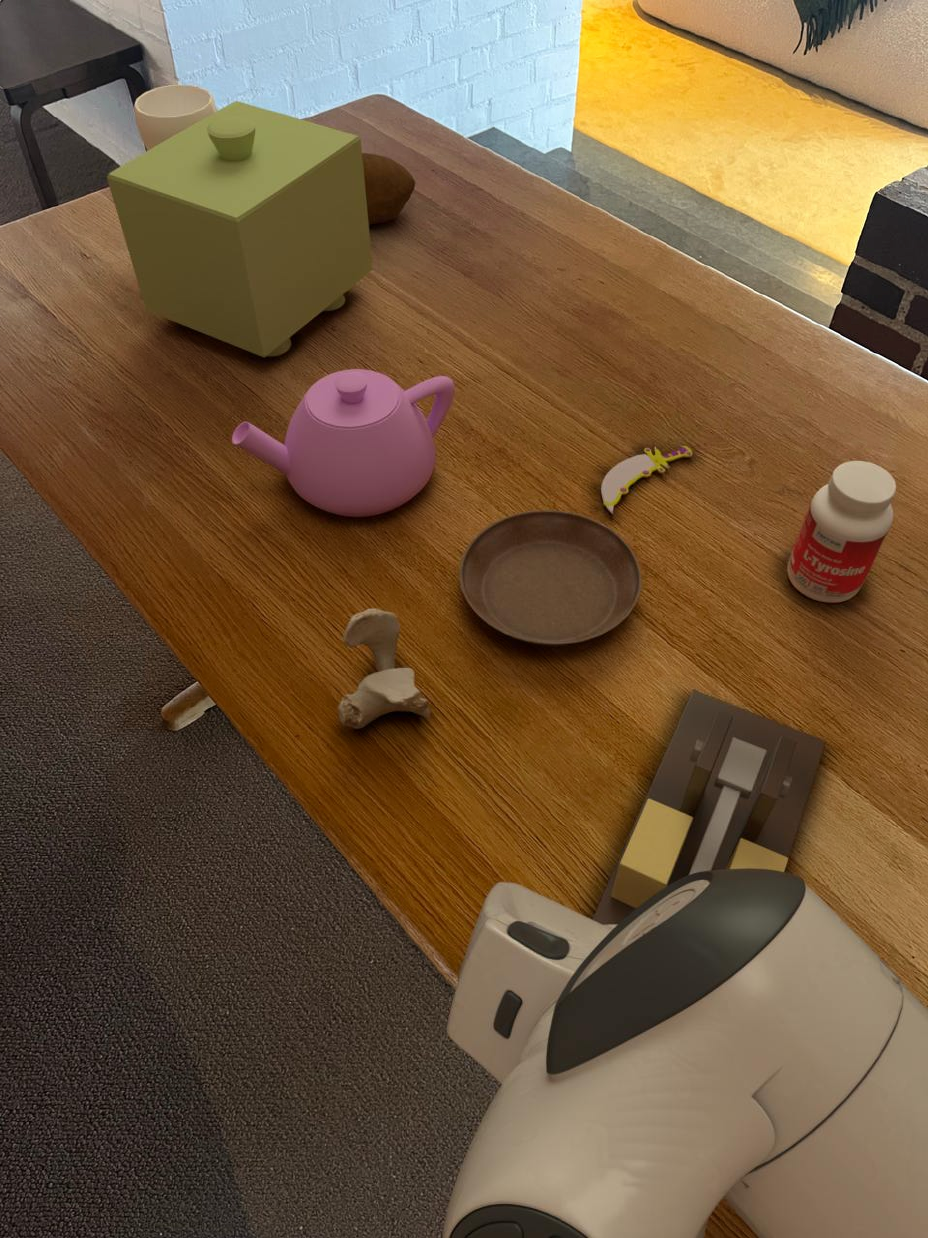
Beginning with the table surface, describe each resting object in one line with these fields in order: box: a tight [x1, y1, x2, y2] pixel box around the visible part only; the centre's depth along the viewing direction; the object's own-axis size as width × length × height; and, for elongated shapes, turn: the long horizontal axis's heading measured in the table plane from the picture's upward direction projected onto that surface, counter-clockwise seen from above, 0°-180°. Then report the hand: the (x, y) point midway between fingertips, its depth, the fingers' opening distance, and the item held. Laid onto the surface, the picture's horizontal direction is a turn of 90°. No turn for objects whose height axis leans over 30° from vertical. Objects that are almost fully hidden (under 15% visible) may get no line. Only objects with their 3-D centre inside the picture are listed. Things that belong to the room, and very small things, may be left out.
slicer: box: [591, 689, 827, 925], centre depth 62 cm, size 20×10×11 cm, turn 153°
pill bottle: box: [786, 460, 897, 604], centre depth 76 cm, size 6×6×11 cm
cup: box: [133, 84, 218, 151], centre depth 110 cm, size 9×9×16 cm
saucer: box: [458, 509, 643, 647], centre depth 79 cm, size 15×15×3 cm
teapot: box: [231, 368, 455, 518], centre depth 85 cm, size 14×20×11 cm
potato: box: [362, 152, 416, 226], centre depth 116 cm, size 8×12×8 cm, turn 114°
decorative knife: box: [600, 445, 693, 515], centre depth 89 cm, size 12×1×5 cm
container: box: [106, 100, 373, 358], centre depth 99 cm, size 19×16×20 cm
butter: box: [611, 799, 789, 908], centre depth 60 cm, size 9×5×5 cm, turn 63°
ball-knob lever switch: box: [689, 737, 767, 875], centre depth 57 cm, size 15×3×3 cm, turn 153°
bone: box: [337, 608, 431, 730], centre depth 70 cm, size 9×6×10 cm
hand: (668, 949), depth 57 cm, fingers closed on ball-knob lever switch, 3 cm apart
